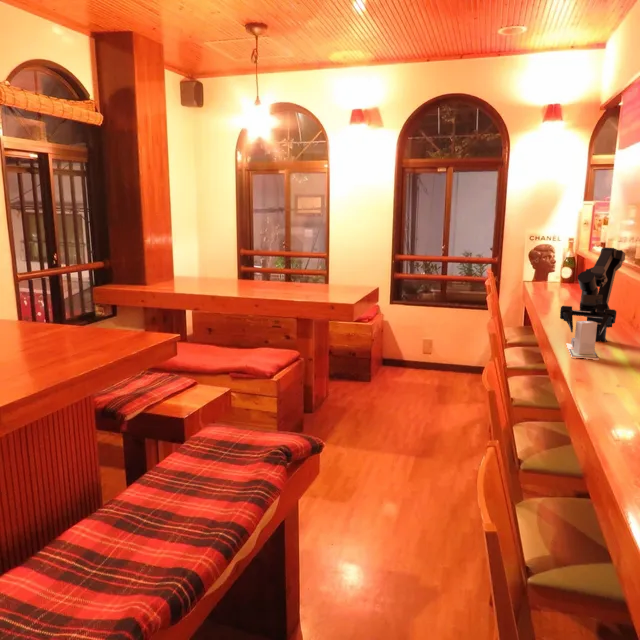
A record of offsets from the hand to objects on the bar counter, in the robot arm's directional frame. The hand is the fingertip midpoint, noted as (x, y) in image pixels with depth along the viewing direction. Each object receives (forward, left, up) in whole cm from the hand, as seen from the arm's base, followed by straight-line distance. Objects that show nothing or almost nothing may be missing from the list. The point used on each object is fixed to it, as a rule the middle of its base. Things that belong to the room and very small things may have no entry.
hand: (585, 333), depth 200 cm
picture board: (-6, 0, -9) cm, 11 cm away
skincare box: (-2, 0, -8) cm, 8 cm away
